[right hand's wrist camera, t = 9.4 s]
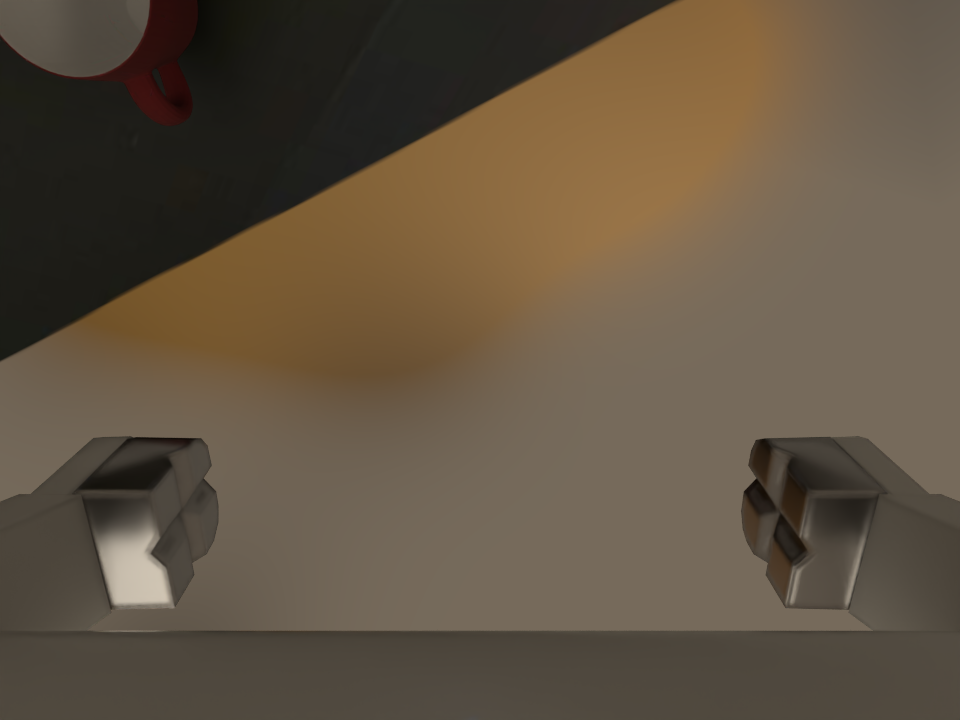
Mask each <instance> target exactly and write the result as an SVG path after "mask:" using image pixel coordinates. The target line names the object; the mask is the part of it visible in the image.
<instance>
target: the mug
mask: <svg viewBox="0 0 960 720" xmlns="http://www.w3.org/2000/svg"><path fill="white" fill-rule="evenodd" d="M197 20H198V4H197V0H0V37H1V38H2V39H3V41H4V42H5V43H6V44H7V45H8V46H9V47H10V48H11V49H12V50H14V51H15V52H16V53H17V54H18V55H19V56H21V57H22V58H23V59H25V60H26V61H28V62H29V63H31V64H32V65H34V66H36V67H38V68H40V69H42V70H44V71H46V72H49V73H51V74H54V75H57V76H61V77H66V78H71V79H81V80H95V81H119V82H123V83H124V84H125V85H126V87H127V89H128V91H129V93H130V95H131V97H132V98H133V100H134V101H135V103H136V104H137V106H138V107H139V108H140V109H141V110H142V111H143V112H144V113H145V114H146V115H147V116H148V117H149V118H151V119H152V120H153V121H155V122H157V123H159V124H161V125H165V126H173V125H178V124H180V123H182V122H184V121H186V120H187V119H188V118H189V116H190V115H191V112H192V108H193V103H192V97H191V93H190V90H189V87H188V85H187V82H186V80H185V77H184V75H183V73H182V71H181V69H180V67H179V65H178V62H177V59H178V58H179V56H180V55H181V54H182V53H183V52H184V50H185V49H186V48H187V46H188V45H189V43H190V42H191V40H192V38H193V36H194V33H195V30H196V26H197ZM154 68H157V69H158V71H159V73H160V76H161V79H162V82H163V85H164V89H165V93H166V97H167V98H166V97H165V96H164V94H163V93H162V92H161V90H160V89H159V87H158V85H157V83H156V81H155V79H154V77H153V75H152V70H153V69H154Z"/></svg>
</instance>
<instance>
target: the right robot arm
mask: <svg viewBox="0 0 960 720" xmlns="http://www.w3.org/2000/svg"><path fill="white" fill-rule="evenodd" d="M210 467H211V460H210V456H209V451H208V446H207V445H206V443H205V442H204V441H203V440H202V439H201V438H148V437H135V438H133V437H131V436H129V437H101V438H93V439H92V440H91V441H90V442H89V443H87V444H86V445H85V446H84V447H83V448H82V449H81V450H80V451H78V452H77V453H76V454H75V455H74V456H73V457H72V458H71V459H69V460H68V461H67V462H66V463H65V464H64V465H63V466H62V467H60V468H59V469H58V470H57V471H56V472H55V473H54V474H53V475H52V476H50V477H49V478H48V479H47V480H46V481H45V482H44V483H42V484H41V485H40V486H39V487H38V488H37V489H36V490H35V491H33V492H32V493H31V494H19V495H16V496H14V497H11V498H9V499H6V500H3V501H1V502H0V720H960V502H959V501H957V500H954V499H952V498H949V497H946V496H944V495H941V494H929V493H928V492H927V491H925V490H924V489H923V488H922V487H921V486H920V485H919V484H918V483H916V482H915V481H914V480H913V479H912V478H911V477H910V476H909V475H908V474H906V473H905V472H904V471H903V470H902V469H901V468H900V467H899V466H897V465H896V464H895V463H894V462H893V461H892V460H891V459H890V458H889V457H887V456H886V455H885V454H884V453H883V452H882V451H881V450H879V449H878V448H877V447H876V446H875V445H874V444H873V443H872V442H871V441H869V440H868V439H866V438H863V437H859V436H855V437H832V438H831V437H809V438H767V439H760V440H756V441H755V443H754V445H753V448H752V450H751V454H750V460H749V467H750V469H751V470H752V472H753V473H754V475H755V477H756V478H757V479H756V480H755V481H754V482H753V483H752V484H751V485H750V486H749V487H748V488H747V489H746V490H745V491H744V495H743V502H742V510H741V513H742V524H743V531H744V534H745V537H746V541H747V543H748V545H749V547H750V549H751V550H752V552H753V554H754V555H756V556H758V557H759V558H761V559H763V560H764V561H766V562H767V563H768V566H767V571H766V576H767V578H768V579H769V581H770V583H771V584H772V586H773V588H774V589H775V591H776V593H777V594H778V596H779V598H780V600H781V601H782V603H783V605H784V606H785V608H803V609H840V610H849V613H850V614H851V615H853V616H854V617H855V618H857V619H858V620H860V621H861V622H862V623H864V624H865V625H866V626H868V627H869V628H870V629H872V630H873V631H87V630H88V629H90V628H91V627H93V626H94V625H95V624H97V623H98V622H99V621H101V620H102V619H103V618H105V617H106V616H107V615H109V614H110V613H111V610H120V609H156V608H175V606H176V605H177V603H178V601H179V600H180V598H181V596H182V595H183V593H184V591H185V590H186V588H187V586H188V584H189V583H190V581H191V579H192V578H193V576H194V571H193V566H192V563H193V562H194V561H196V560H198V559H199V558H201V557H202V556H204V555H206V554H207V552H208V550H209V548H210V547H211V545H212V543H213V541H214V538H215V534H216V529H217V525H218V501H217V494H216V491H215V490H214V489H213V488H212V487H211V486H210V485H209V484H208V483H207V482H206V481H205V480H204V479H203V478H204V477H205V475H206V473H207V472H208V470H209V469H210Z"/></svg>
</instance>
